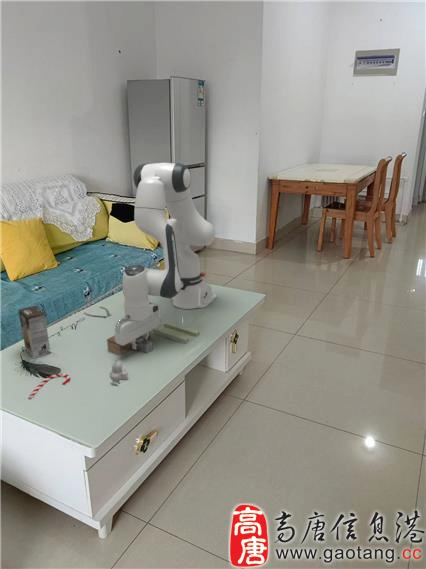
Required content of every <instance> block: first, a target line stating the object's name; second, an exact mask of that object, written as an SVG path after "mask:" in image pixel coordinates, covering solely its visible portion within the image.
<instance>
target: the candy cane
mask: <svg viewBox="0 0 426 569" xmlns="http://www.w3.org/2000/svg"><path fill="white" fill-rule="evenodd" d="M55 378H56V379H57V378H65V379H66V380H65V381H63V382H62V383H61V384H62V385H63V386H66V385H67V384H68V383H70V381H71V376H70V375H69V374H67V373H56V374H53V375H49V376H47V377H46V378H44V379H42V381H41V382H40V383H39V384H38V385H37V386H36V387H35V388H34V389H33V390H32V392H31V393H30V395H29V396H28V400H32V398H33V399H34V397H35V396H36V395H37V393H38V392H39V391H40V390H41V389H42V387H43V386H45V385H46V383H48V382H49V381H51V380H53V379H55ZM39 389H40V390H39ZM38 390H39V391H38ZM37 391H38V392H37ZM35 394H36V395H35ZM34 395H35V396H34Z"/></svg>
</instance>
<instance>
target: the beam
mask: <svg viewBox="0 0 426 569" xmlns="http://www.w3.org/2000/svg"><path fill="white" fill-rule="evenodd" d="M140 337H141V338H142V337H143V335H142V336H140ZM150 339H152V336H151V331H150V332H149V336H148V338H147V340H150ZM106 343H107V344H106V345H107V351H109V352H111V353H113V354H116V355H118V356H122V355H123V354H125V353H127V352H128V351H130V350H133V349H132V344H131V343H130V342H129V343H128V344H126V345H124V346H122V345H119V344H117V343H116V342H115V334H113V336H110V337H108V338H107V339H106Z"/></svg>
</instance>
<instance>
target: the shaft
mask: <svg viewBox="0 0 426 569" xmlns="http://www.w3.org/2000/svg"><path fill="white" fill-rule="evenodd" d="M135 343H136V344H138V348H137V349H136V350H137V351H141V352H143V353H145V354H149V352H151V351H153V349H154V342H153V341H152V340H150V339H148V340H147V339H144V338H141V337H139V338H137V339H136V341H135Z"/></svg>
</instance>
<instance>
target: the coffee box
mask: <svg viewBox="0 0 426 569" xmlns="http://www.w3.org/2000/svg"><path fill="white" fill-rule="evenodd" d="M18 315H19V319H20V324H21V325H20V326H21V331H22V336H23V337H22V338H23V342H24V348H25V351H27V353H29V355H30V356H31V358H33V359H37V358H40V357H43V356H46V355H49V354H51V350H50V349H51V347H50V341H49V333H48V326H47V319H46V313H45V312H44V311H43V310H42V309H40V307H38V306H37V305H33V306H28V307H22V308H20V309H18Z"/></svg>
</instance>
